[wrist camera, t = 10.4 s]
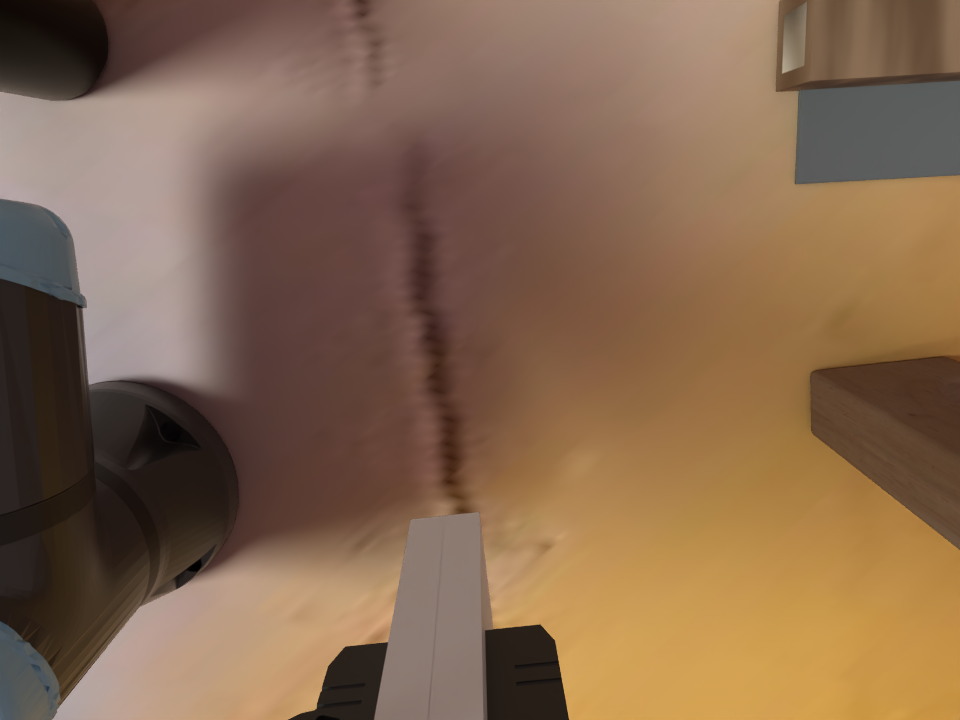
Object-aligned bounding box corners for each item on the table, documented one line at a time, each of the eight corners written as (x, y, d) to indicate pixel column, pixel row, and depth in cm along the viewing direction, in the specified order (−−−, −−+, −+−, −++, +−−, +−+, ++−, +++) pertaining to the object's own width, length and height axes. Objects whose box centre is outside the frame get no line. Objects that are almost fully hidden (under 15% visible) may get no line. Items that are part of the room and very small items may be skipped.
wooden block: (946, 354, 49) (1199, 451, 31) (945, 419, 50) (1189, 548, 32) (807, 369, 49) (981, 473, 32) (808, 433, 50) (977, 568, 33)
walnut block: (810, 80, 40) (1076, 64, 40) (814, -21, 39) (1089, -39, 38) (775, 91, 45) (1012, 77, 44) (779, 1, 44) (1022, -14, 43)
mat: (794, 183, 47) (797, 184, 46) (806, -103, 43) (809, -105, 42) (1056, 169, 46) (1061, 169, 46) (1091, -122, 42) (1097, -125, 42)
